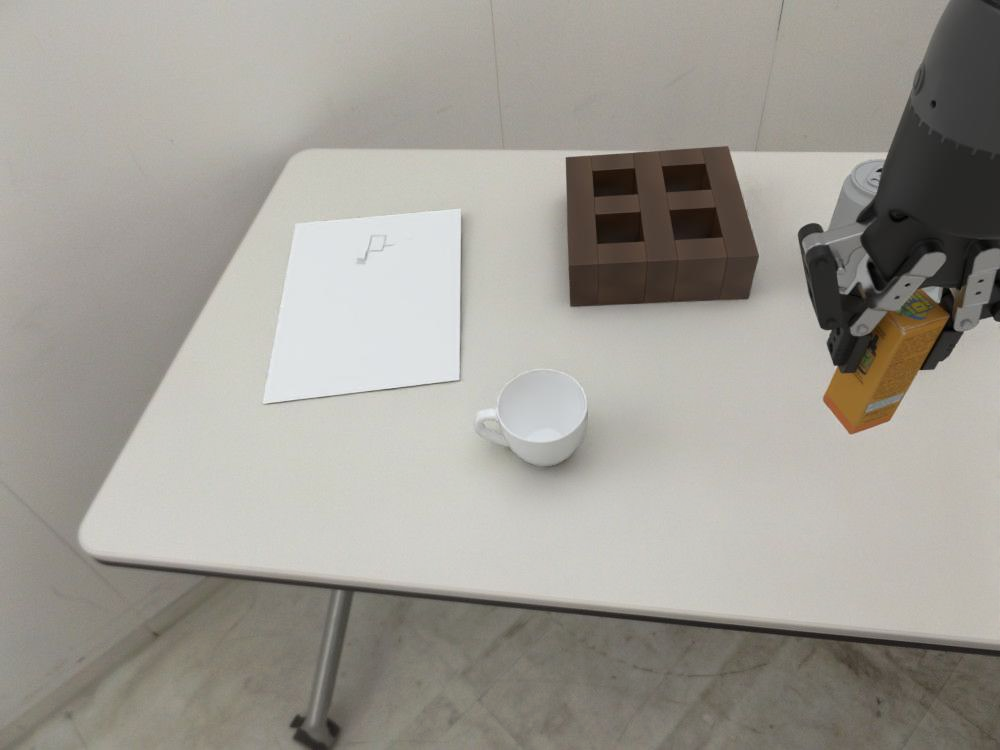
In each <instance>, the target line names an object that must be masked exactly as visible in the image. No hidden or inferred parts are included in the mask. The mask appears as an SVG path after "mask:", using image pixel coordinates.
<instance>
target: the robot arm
mask: <svg viewBox="0 0 1000 750" xmlns="http://www.w3.org/2000/svg"><path fill="white" fill-rule="evenodd" d="M915 71H916V72H915V74H914V76H913V81H912V87H911V91H910V93H909V96H908V99H907V101H906V103H905V106H904V109H903V112H902V113H901V118H900V120H899V122H898V125H897V127H896V130H895V133H894V135H893V139H892V141H891V144H890V147H889V148H888V152H887V154H886V156H885V159H884V160H885V162H884V165H883V168H882V172H881V176H880V181H879V186H878V190H877V193H876V195H875V197H874V198H873V200H872V201H871V202H870V203H869V204H868V205H867V206H866V207H865V208H864V209H863V210H862V211H861V212H860V213H859V215H858V216H857V219H856V222H855V223H852V224H849V225H846V226H842V227H839V228H836V229H833V230H829V231H828V230H825V231H824V229H823V226H822V225H821V224H820V223H816V222H810V223H807V224H805V225H803V226H801V228H800V229H799V230H798V232H797V239H798V240H797V241H798V244H799V250H800V255H801V259H802V260H801V261H802V266H803V270H804V276H805V280H806V286H807V292H808V296H809V299H810V302H811V305H812V308H813V310H814V313H815V316H816V319H817V322H818V326H819V328H820V329H821V330H823V331H830V333H829V335H828V338H827V340H826V347H827V349H828V353H829V356H830V358H831V361H832V364H833V367H834V366H835V367H837V366H838V368H839V370H840V372H841V373H842V374H844V373H855V372H856V370H857V368H858V366H859V364H860V362H861V360H862V357H863V355H864V353H865V351H866V349H867V347H868V345H869V342H870V340H871V338H872V336H873V335H872V333H871V332H872V331H873V329H874V328H875V327H876V326H877V325H878V323H879V322H880V321H881V320H882V319H883V318H884V316H885V315H886V314H887V313H888V312H889V311H891V312H897V311H898V310H899V309H900V308H901V307H902V306H903V305H904V303H905V302H906V301H907V300H908V299H909V298H910V297H911V295H912V294H913V293H914V292H915V291H916V290H917V289H922V288H926V287H931V286H935V287H939V292H938V298H939V300H940V301H939V303H937V304H938V305H939V306H941V307H942V308H943V309H944V310H945V311H946V312H947V313H948V314H949V315H950V317H949V318H948V320H947V322H946V324H945V326H944V327H943V329H942V331H941V333H940V334H939V336H938V338H937V340H936V341H935V343H934V345H933V347H932V348H931V350H930V352H929V354H928V355H927V357H926V359H925V360H924V362H923V364H922V366H921V368H920V369H919V371H934V370H935V369H936V368H937V366H938V364H939V363H940V362H944V361H945V360H946V359H947V358H949V357H950V356H951V354H952V353H953V351H954V349H955V348H956V345H957V344H958V342H960V340H961V338H962V336H963V334H964V333H965V332H968V331H970V330H972V329H974V328H976V327H977V326H978V325H979V323H980V320H984V319H989V318H993V320H994V321H995V322H997V323H1000V0H948V2H947V4H946V6H945V8H944V10H943V12H942V14H941V15H940V18H939V19H938V21H937V23H936V26H935V28H934V29H933V33H932V34H931V37H930V40H929V42H928V46H927V48H926V51H925V53H924V56H923V59H922V61H921V62H920V64H919V66H918V68H917V70H915ZM861 247H863V248H864V249H865V251H866V253H865V254H864V256H863V257H862V258H861V260H860V261H859V263H858V264H857V267H856V275H855V277H854V279H853V280H852V282H851V283H850V284H849V286H848V287H847V288H845V289H844V291H843V292H840V288H839V287H840V286H838V279H837V275H843V274H844V273H845V272H846V269H845V266H846V265H847V264H848V263H849V261H850V256H851V254H852V253H853V252H854V251H855V250H857V249H859V248H861ZM865 301H866V302H865Z"/></svg>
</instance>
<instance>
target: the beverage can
mask: <svg viewBox="0 0 1000 750" xmlns="http://www.w3.org/2000/svg"><path fill="white" fill-rule="evenodd" d="M885 160H886V159H877V158H875V159H869V160H865V161H861V162H860V163H858V164H856V165H855V166H854V167H853V168H852V170H851V171H850V174H848V175H847V176H846V177H845V179H844V181H843V184H842V186H841V189H840V192H839V195H838V198H837V201H836V205H835V207H834V209H833V213H832V216H831V219H830V221H829V225H828V227H827V231H829V230H833V229H836V228H839V227H842V226H846V225H849V224H852V223H855V222H856V219H857V216H858V215H859V213H860V212H861V211H862V210H863V209H864V208H865V207H866V206H867V205H868V204H869V203H870V202H871V201H872V200H873V198H874V197H875V195H876V193H877V190H878V186H879V181H880V176H881V172H882V168H883V165H884V162H885ZM865 253H866V251H865V249H864V248H863V247H861V248H859V249H857V250H855V251H854V252H853V253H852V254H851V256H850V261H849V263H848V264H847V265H846V266H845V269H846V272H845V273H844V274H843V275H837V279H838V286H839V287H840V288H845V289H846V288H847V287H848V286H849V284H850V283H851V282H852V280H853V279H854V277H855V275H856V267H857V264H858V263H859V261H860V260H861V258H862V257H863V256H864V254H865Z"/></svg>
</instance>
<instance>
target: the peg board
mask: <svg viewBox="0 0 1000 750" xmlns="http://www.w3.org/2000/svg"><path fill="white" fill-rule="evenodd" d="M565 184H566V186H565V189H566V215H567V216H566V217H567V218H566V221H567V222H566V225H567V226H566V227H567V228H566V229H567V260H568V287H569V288H568V289H569V306H570V307H590V306H612V305H613V306H615V305H635V304H637V305H638V304H657V303H659V304H660V303H679V302H704V301H723V300H725V301H726V300H747V299H749V298H750V294H751V290H752V286H753V282H754V277H755V274H756V270H757V266H758V262H759V257H760V254H759V250H758V246H757V243H756V240H755V236H754V231H753V229H752V225H751V222H750V218H749V215H748V211H747V208H746V204H745V200H744V198H743V193H742V190H741V186H740V182H739V179H738V176H737V172H736V169H735V165H734V162H733V158H732V154H731V151H730V147H729V146H728V145H724V146H722V145H721V146H710V147H709V146H708V147H693V148H681V149H665V150H653V151H651V150H650V151H637V152H636V151H635V152H622V153H608V154H594V155H593V154H592V155H580V156H579V155H575V156H566V157H565Z"/></svg>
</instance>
